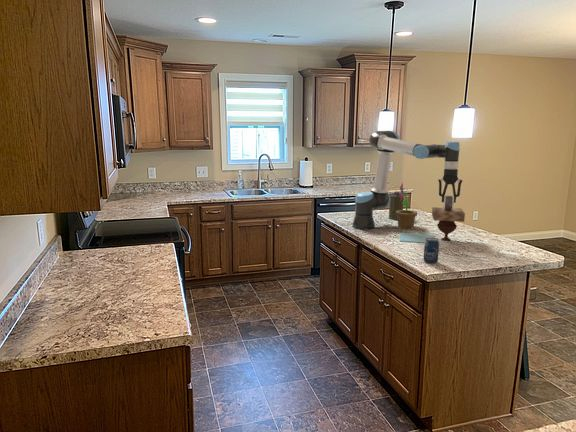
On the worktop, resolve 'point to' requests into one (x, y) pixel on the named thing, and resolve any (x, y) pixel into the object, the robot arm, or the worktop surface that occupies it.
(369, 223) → the robot arm
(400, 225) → the flowerpot
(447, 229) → the ice cream bowl
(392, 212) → the canister
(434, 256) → the soda can
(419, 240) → the mat
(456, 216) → the lid
